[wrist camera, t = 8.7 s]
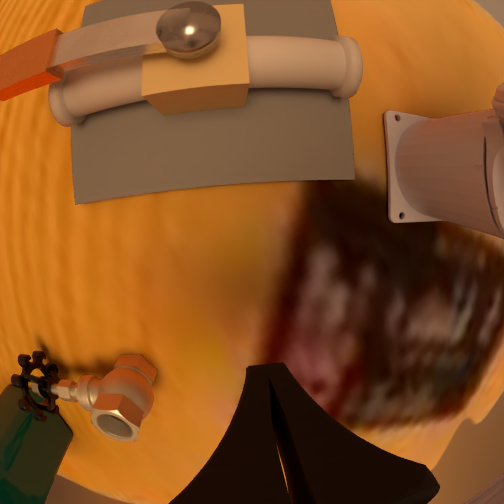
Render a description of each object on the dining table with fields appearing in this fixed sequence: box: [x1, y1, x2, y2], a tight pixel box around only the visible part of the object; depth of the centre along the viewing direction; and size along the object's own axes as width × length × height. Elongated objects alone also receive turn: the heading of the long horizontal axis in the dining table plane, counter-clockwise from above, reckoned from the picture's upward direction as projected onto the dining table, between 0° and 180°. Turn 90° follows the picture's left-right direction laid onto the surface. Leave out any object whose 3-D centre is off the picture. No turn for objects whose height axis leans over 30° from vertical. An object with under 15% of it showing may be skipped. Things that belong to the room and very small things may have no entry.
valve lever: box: [0, 1, 221, 101], centre depth 8 cm, size 12×3×2 cm, turn 88°
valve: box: [11, 351, 157, 442], centre depth 17 cm, size 7×7×12 cm
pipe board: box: [49, 0, 363, 205], centre depth 12 cm, size 18×16×5 cm
